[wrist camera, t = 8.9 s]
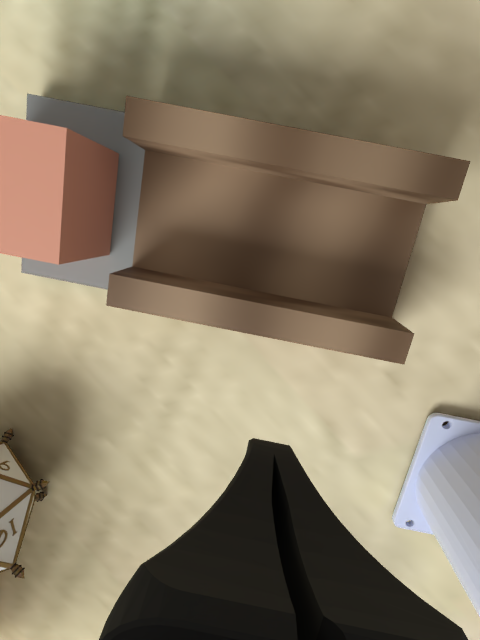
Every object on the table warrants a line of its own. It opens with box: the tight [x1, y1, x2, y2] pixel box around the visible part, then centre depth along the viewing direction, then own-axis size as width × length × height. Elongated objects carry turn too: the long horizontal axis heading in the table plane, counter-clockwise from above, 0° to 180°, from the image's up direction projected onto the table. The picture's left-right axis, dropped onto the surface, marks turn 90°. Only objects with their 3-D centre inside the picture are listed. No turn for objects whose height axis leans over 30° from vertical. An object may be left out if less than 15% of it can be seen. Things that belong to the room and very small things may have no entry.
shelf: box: [21, 94, 145, 289], centre depth 19 cm, size 6×9×1 cm
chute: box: [106, 96, 470, 364], centre depth 18 cm, size 14×9×4 cm, turn 80°
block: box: [0, 115, 119, 265], centre depth 16 cm, size 5×5×5 cm
